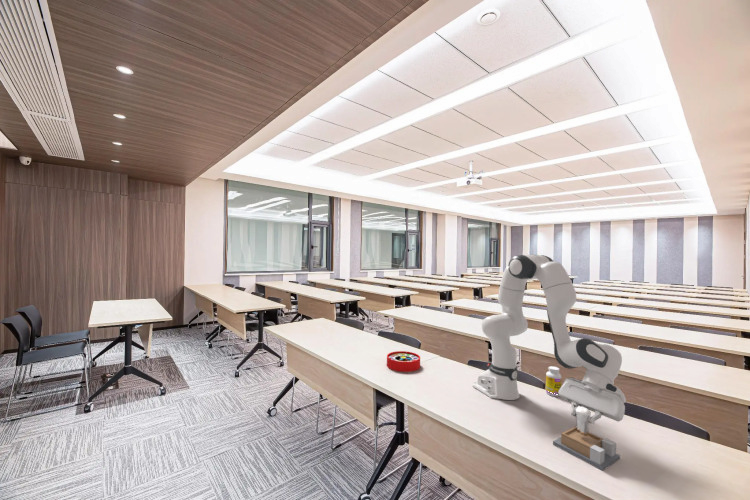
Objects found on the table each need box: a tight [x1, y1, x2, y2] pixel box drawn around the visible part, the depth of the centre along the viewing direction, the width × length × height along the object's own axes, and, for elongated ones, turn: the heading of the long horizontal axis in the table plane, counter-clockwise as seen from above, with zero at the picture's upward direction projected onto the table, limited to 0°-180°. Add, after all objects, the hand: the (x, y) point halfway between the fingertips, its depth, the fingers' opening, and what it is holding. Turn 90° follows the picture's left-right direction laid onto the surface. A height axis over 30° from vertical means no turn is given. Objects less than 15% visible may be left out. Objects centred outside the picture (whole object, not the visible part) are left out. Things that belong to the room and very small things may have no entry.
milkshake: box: [573, 403, 592, 436], centre depth 114 cm, size 4×5×10 cm
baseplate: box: [552, 425, 621, 472], centre depth 113 cm, size 16×12×5 cm
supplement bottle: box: [545, 365, 562, 397], centre depth 159 cm, size 7×7×13 cm
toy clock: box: [386, 350, 421, 373], centre depth 194 cm, size 20×6×20 cm
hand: (581, 419), depth 114 cm, fingers closed on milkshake, 4 cm apart
